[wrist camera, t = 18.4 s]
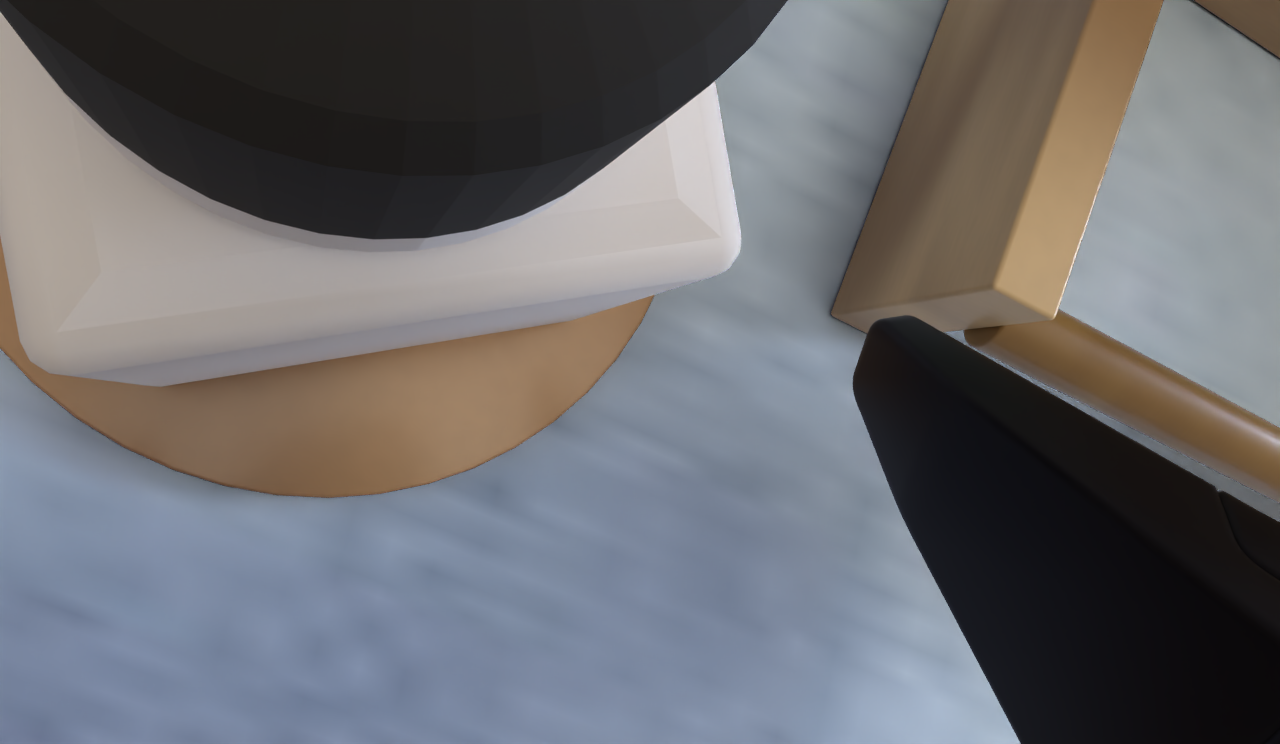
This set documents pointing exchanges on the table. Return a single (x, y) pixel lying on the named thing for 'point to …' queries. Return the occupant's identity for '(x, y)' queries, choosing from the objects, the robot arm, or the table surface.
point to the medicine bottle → (352, 172)
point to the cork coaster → (349, 407)
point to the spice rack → (1036, 211)
